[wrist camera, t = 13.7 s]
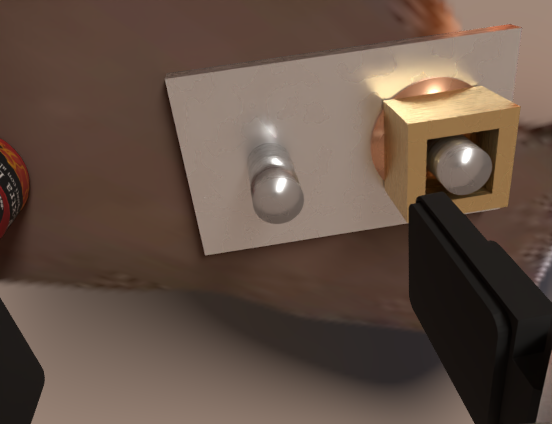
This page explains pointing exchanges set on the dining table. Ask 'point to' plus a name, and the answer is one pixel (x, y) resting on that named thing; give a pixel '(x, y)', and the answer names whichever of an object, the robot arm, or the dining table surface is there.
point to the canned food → (11, 185)
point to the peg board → (323, 134)
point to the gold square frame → (441, 123)
